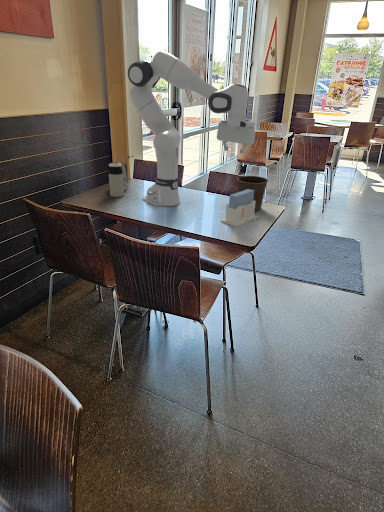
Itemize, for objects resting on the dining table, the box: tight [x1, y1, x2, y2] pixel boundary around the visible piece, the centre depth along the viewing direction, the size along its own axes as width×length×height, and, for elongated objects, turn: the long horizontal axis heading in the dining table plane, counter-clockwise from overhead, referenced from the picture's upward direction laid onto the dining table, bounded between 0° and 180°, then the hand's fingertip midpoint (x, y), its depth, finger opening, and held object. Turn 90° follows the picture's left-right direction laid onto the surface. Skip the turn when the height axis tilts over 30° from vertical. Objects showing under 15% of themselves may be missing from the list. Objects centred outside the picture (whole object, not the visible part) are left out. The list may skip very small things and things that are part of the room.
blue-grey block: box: [228, 189, 254, 209], centre depth 169 cm, size 4×16×6 cm, turn 139°
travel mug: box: [107, 163, 125, 198], centre depth 201 cm, size 8×8×18 cm
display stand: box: [220, 200, 259, 228], centre depth 171 cm, size 10×18×9 cm, turn 139°
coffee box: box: [110, 161, 129, 191], centre depth 214 cm, size 9×6×16 cm
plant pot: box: [236, 175, 269, 212], centre depth 188 cm, size 16×16×16 cm
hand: (233, 151), depth 170 cm, fingers open, 8 cm apart
